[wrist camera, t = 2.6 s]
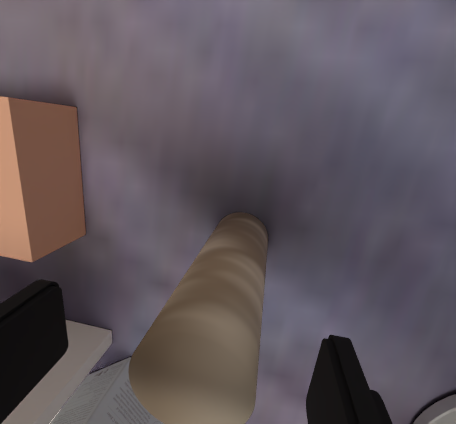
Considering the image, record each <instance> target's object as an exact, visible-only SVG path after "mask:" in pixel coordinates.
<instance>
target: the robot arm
mask: <svg viewBox="0 0 456 424" xmlns="http://www.w3.org/2000/svg"><path fill="white" fill-rule="evenodd" d="M67 349H68V335H67V328H66V320H65V312H64V305H63V297H62V290H61V288H60V287H59V285H58V284H57V283H56V282H52V281H47V280H37V281H35V282H34V283H32V284H30V285H29V286H27V287H26V288H24V289H23V290H21V291H20V292H18V293H17V294H15V295H13V296H12V297H10V298H9V299H7V300H6V301H4V302H3V303H1V304H0V424H1V423H2V422H3V421H4V420H5V419H6V418H7V417H8V416H9V415H10V414H11V412H12V411H13V410H14V409H15V408H16V407H17V406H18V405H19V404H20V403H21V401H22V400H23V399H24V398H25V397H26V396H27V395H28V394H29V393H30V392H31V391H32V389H33V388H34V387H35V386H36V385H37V384H38V383H39V382H40V381H41V380H42V378H43V377H44V376H45V375H46V374H47V373H48V372H49V371H50V370H51V369H52V368H53V366H54V365H55V364H56V363H57V362H58V361H59V360H60V359H61V358H62V357H63V355H64V354H65V353H66V351H67ZM306 411H307V419H308V424H392V422H391V419H390V417H389V414H388V412H387V410H386V407H385V405H384V402H383V400H382V398H381V396H380V395H379V394H378V393H377V392H376V391H374V390H370V389H369V386H368V384H367V381H366V379H365V376H364V373H363V371H362V368H361V366H360V363H359V360H358V358H357V355H356V353H355V350H354V347H353V345H352V342H351V340H350V339H349V338H345V337H340V336H334V335H330V336H329V338H328V339H325V338H324V339H323V340H322V343H321V347H320V350H319V354H318V358H317V361H316V365H315V368H314V372H313V376H312V379H311V383H310V386H309V390H308V394H307V398H306ZM413 424H456V394H454V395H451V396H448V397H446V398H444V399H442V400H440V401H438V402H436V403H434V404H433V405H431V406H430V407H429V408H427V409H426V410H424V411H423V412H422V413H421V415H420V416H419V417H418V418H417V419H416V420H415V421H414V423H413Z"/></svg>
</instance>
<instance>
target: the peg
mask: <svg viewBox="0 0 456 424" xmlns="http://www.w3.org/2000/svg"><path fill="white" fill-rule="evenodd" d="M267 247H268V234H267V230H266V228H265V226H264V225H263V223H262V222H261V221H260V220H259V219H258V218H256V217H255V216H253V215H251V214H248V213H242V212H237V213H232V214H229V215H227V216H226V217H224V218H223V219H222V220H221V221H220V222H219V224H218V225H217V227H216V228H215V230H214V231H213V233H212V234H211V236H210V237H209V239H208V240H207V242H206V243H205V245H204V246H203V248H202V249H201V251H200V253H199V254H198V256H197V257H196V259H195V260H194V262H193V263H192V265H191V266H190V268H189V269H188V271H187V272H186V274H185V275H184V277H183V278H182V280H181V281H180V283H179V285H178V286H177V288H176V289H175V291H174V292H173V294H172V295H171V297H170V298H169V300H168V301H167V303H166V304H165V306H164V307H163V309H162V310H161V312H160V313H159V315H158V316H157V318H156V320H155V321H154V323H153V324H152V326H151V327H150V329H149V330H148V332H147V333H146V335H145V336H144V338H143V339H142V341H141V342H140V344H139V345H138V347H137V348H136V350H135V351H134V353H133V355H132V357H131V359H130V363H129V371H128V373H129V380H130V384H131V387H132V389H133V392H134V394H135V395H136V397H137V399H138V400H139V402H140V403H141V404H142V405H143V407H144V408H145V409H146V410H147V411H148V412H149V413H150V414H151V415H153V416H154V417H155V418H156V419H158V420H159V421H161V422H162V423H164V424H245V423H246V422H247V420H248V419H249V418H250V416H251V414H252V412H253V410H254V406H255V399H256V386H257V374H258V361H259V348H260V336H261V323H262V310H263V298H264V285H265V272H266V260H267Z"/></svg>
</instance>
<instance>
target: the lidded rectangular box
mask: <svg viewBox="0 0 456 424" xmlns="http://www.w3.org/2000/svg"><path fill="white" fill-rule="evenodd" d="M66 328H67V335H68V349H67V351H66V353H65V354H64V355H63V357H62V358H61V359H60V360H59V361H58V362H57V363H56V364H55V365H54V366H53V368H52V369H51V370H50V371H49V372H48V373H47V374H46V375H45V376H44V377H43V378H42V380H41V381H40V382H39V383H38V384H37V385H36V386H35V387H34V388H33V389H32V391H31V392H30V393H29V394H28V395H27V396H26V397H25V398H24V399H23V400H22V401H21V403H20V404H19V405H18V406H17V407H16V408H15V409H14V410H13V411H12V412H11V414H10V415H9V416H8V417H7V418H6V419H5V420H4V421H3V422H2V423H1V424H49V423H50V422H51V420H52V419H53V418H54V416H55V415H56V414H57V413H58V411H59V410H60V409H61V408H62V406H63V405H64V404H65V403H66V401H67V400H68V399H69V398H70V396H71V395H72V394H73V392H74V391H75V390H76V389H77V387H78V386H79V385H80V384H81V382H82V381H83V380H84V379H85V377H86V376H87V375H88V373H89V372H90V371H91V370H92V368H93V367H94V366H95V365H96V363H97V362H98V361H99V360H100V358H101V357H102V356H103V354H104V353H105V352H106V351H107V349H108V348H109V347H110V346H111V344H112V331H111V330H107V329H103V328H98V327H94V326H90V325H86V324H81V323H77V322H73V321H69V320H66Z"/></svg>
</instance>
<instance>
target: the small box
mask: <svg viewBox="0 0 456 424" xmlns="http://www.w3.org/2000/svg"><path fill="white" fill-rule="evenodd" d="M130 359H131V357H129V358H127V359H124V360H122V361H120V362H117V363H115V364H113V365H110V366H108V367H106V368H103V369H101V370H99V371H96V372H94V373H92V374H89V375H88V376H87V377H86V378H85V379H84V381H83V382H82V383H81V385H80V386H79V387H78V388H77V390H76V391H75V392H74V394H73V395H72V396H71V398H70V399H69V400H68V401H67V403H66V404H65V405H64V406H63V408H62V409H61V410H60V411H59V413H58V414H57V415H56V417H55V418H54V419H53V421H52V422H51V423H50V424H164V423H162V422H161V421H159V420H158V419H156V418H155V417H154V416H153V415H151V414H150V413H149V412H148V411H147V410H146V409H145V408H144V407H143V405H142V404H141V403H140V402H139V400H138V399H137V397H136V395H135V394H134V392H133V389H132V387H131V384H130V380H129V373H128V371H129V363H130Z"/></svg>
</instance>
